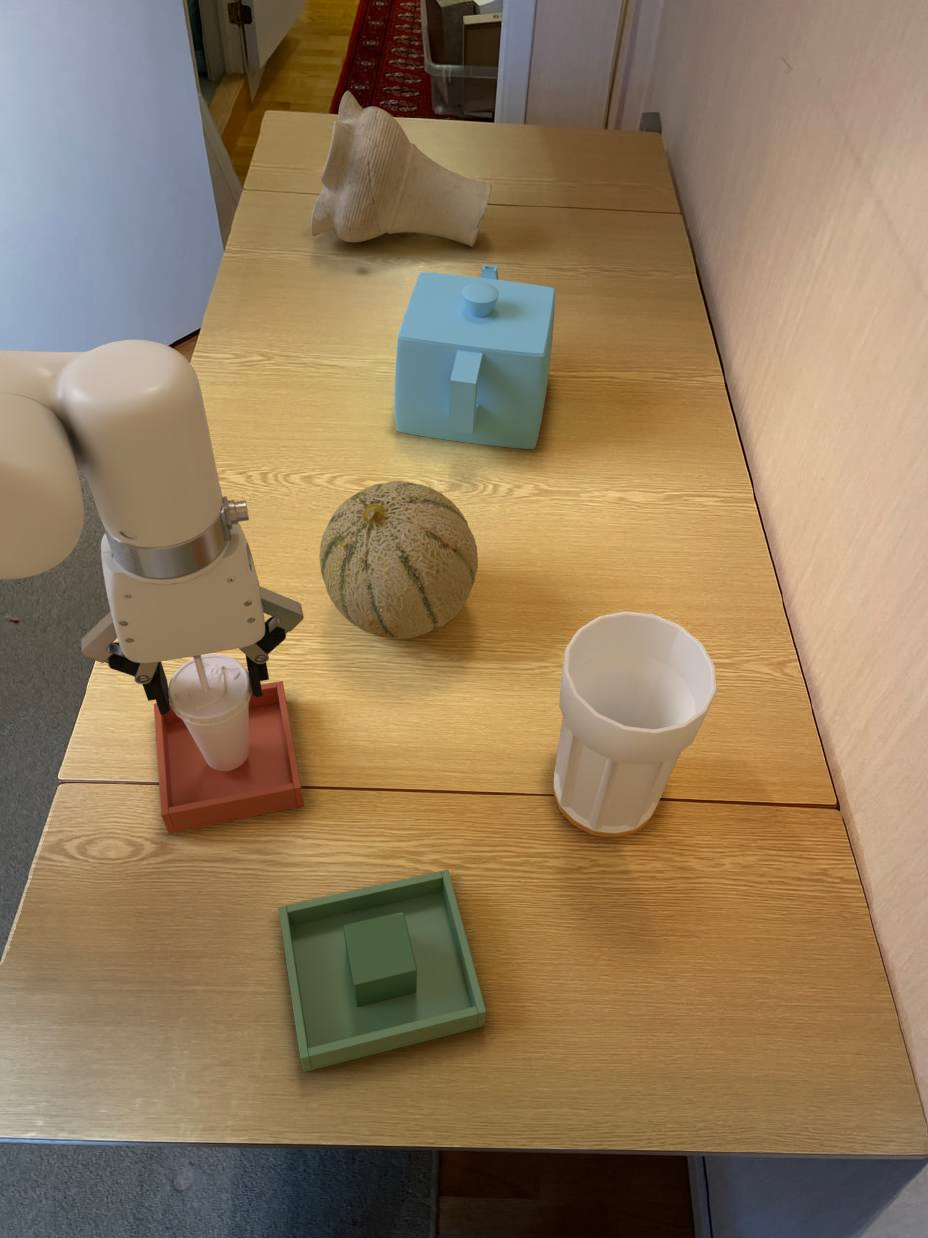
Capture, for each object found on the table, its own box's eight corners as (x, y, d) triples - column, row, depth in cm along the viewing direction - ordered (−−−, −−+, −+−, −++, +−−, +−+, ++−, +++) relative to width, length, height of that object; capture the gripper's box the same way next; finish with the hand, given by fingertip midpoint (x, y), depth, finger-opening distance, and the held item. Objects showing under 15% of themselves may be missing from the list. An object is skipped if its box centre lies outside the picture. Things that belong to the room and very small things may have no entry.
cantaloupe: (501, 597, 99) (513, 486, 88) (418, 694, 91) (419, 585, 79) (383, 537, 104) (380, 423, 92) (293, 623, 96) (278, 511, 84)
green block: (356, 1007, 72) (354, 985, 68) (345, 949, 74) (342, 924, 71) (416, 993, 72) (417, 970, 69) (403, 935, 75) (403, 911, 72)
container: (385, 457, 112) (382, 341, 100) (423, 334, 128) (424, 221, 116) (533, 477, 111) (548, 362, 99) (553, 350, 127) (567, 238, 115)
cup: (513, 795, 84) (532, 672, 71) (590, 714, 90) (620, 587, 77) (621, 876, 80) (662, 762, 67) (695, 786, 86) (746, 665, 72)
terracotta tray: (168, 834, 81) (161, 815, 78) (160, 723, 87) (153, 703, 85) (304, 806, 83) (301, 787, 80) (286, 700, 90) (282, 680, 87)
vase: (535, 123, 141) (344, 57, 136) (539, 167, 124) (323, 94, 120) (488, 266, 154) (313, 211, 150) (487, 324, 138) (290, 264, 133)
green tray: (304, 1072, 69) (300, 1059, 67) (282, 923, 76) (278, 906, 74) (484, 1026, 72) (486, 1012, 69) (447, 886, 79) (448, 869, 76)
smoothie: (175, 775, 82) (140, 674, 71) (206, 714, 86) (178, 610, 75) (248, 792, 81) (223, 693, 71) (275, 730, 85) (256, 627, 75)
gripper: (293, 471, 67) (313, 636, 81) (27, 507, 64) (95, 673, 78) (310, 547, 63) (328, 709, 76) (24, 591, 59) (97, 752, 73)
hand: (210, 689), depth 77 cm, fingers closed on smoothie, 6 cm apart
